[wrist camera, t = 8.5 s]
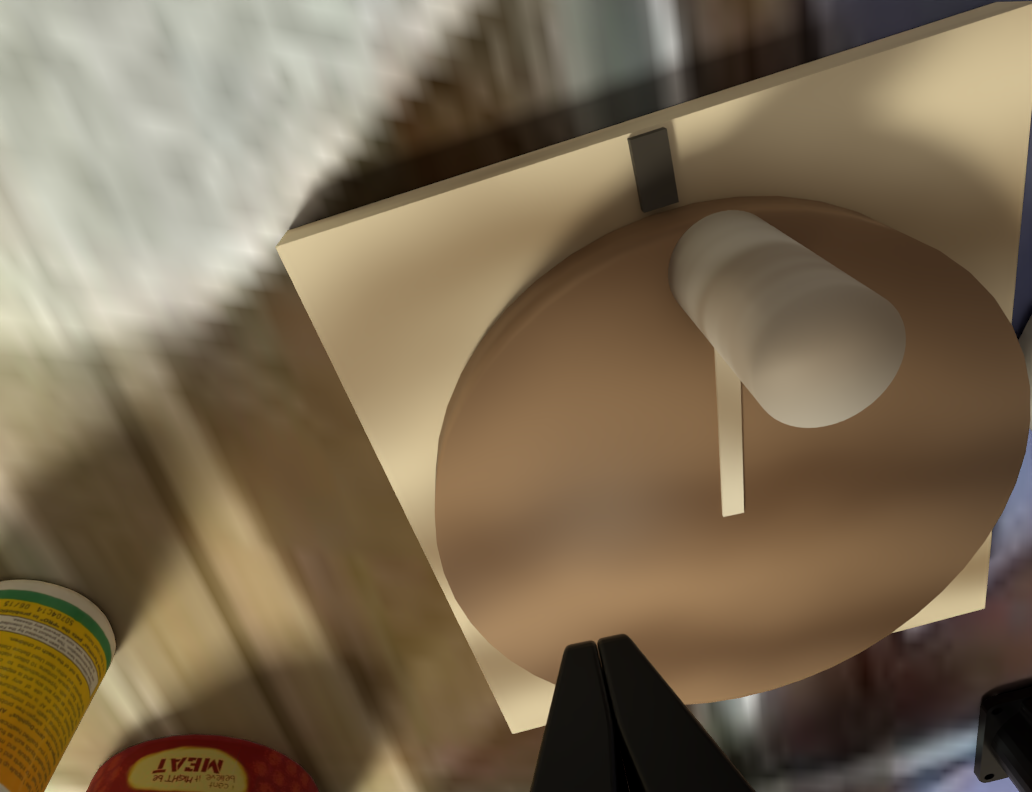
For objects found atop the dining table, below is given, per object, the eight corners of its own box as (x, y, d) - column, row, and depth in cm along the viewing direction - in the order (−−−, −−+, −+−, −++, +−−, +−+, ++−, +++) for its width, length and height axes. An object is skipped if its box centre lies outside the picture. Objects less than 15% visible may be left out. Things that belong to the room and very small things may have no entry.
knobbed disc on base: (943, 605, 25) (1100, 792, 19) (498, 696, 25) (514, 909, 19) (1031, 117, 17) (1368, 176, 11) (359, 263, 17) (309, 401, 11)
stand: (959, 580, 27) (990, 614, 26) (509, 701, 28) (513, 740, 27) (996, 1, 17) (1052, 0, 15) (287, 230, 18) (272, 250, 17)
